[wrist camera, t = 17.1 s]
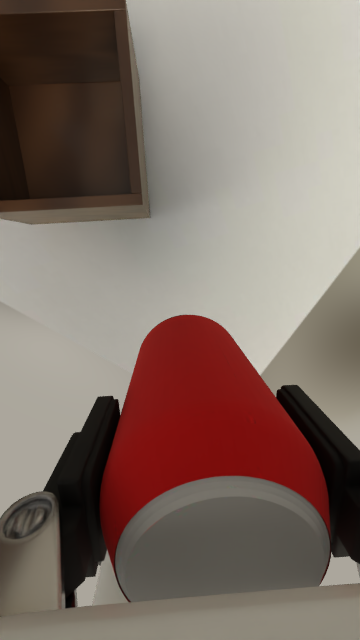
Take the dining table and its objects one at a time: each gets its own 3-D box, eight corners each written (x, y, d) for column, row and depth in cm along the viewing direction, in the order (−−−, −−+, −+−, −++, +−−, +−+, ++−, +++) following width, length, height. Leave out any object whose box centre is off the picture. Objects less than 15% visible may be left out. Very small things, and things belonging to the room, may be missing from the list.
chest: (138, 75, 27) (124, -7, 18) (150, 217, 31) (143, 204, 22) (3, 81, 27) (-76, 0, 18) (30, 224, 30) (-25, 213, 22)
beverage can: (182, 290, 16) (217, 393, 4) (253, 350, 17) (426, 556, 6) (121, 361, 17) (18, 596, 5) (192, 413, 18) (232, 697, 7)
